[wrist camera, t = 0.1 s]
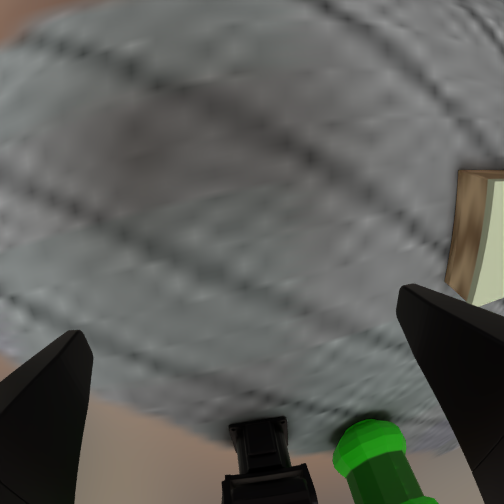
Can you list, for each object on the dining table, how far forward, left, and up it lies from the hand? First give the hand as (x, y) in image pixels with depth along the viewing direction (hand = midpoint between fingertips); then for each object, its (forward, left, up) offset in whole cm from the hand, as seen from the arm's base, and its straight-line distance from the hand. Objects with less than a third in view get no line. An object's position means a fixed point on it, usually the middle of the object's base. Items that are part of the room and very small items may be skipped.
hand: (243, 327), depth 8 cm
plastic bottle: (-33, -13, -15) cm, 38 cm away
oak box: (-5, -25, -15) cm, 30 cm away
